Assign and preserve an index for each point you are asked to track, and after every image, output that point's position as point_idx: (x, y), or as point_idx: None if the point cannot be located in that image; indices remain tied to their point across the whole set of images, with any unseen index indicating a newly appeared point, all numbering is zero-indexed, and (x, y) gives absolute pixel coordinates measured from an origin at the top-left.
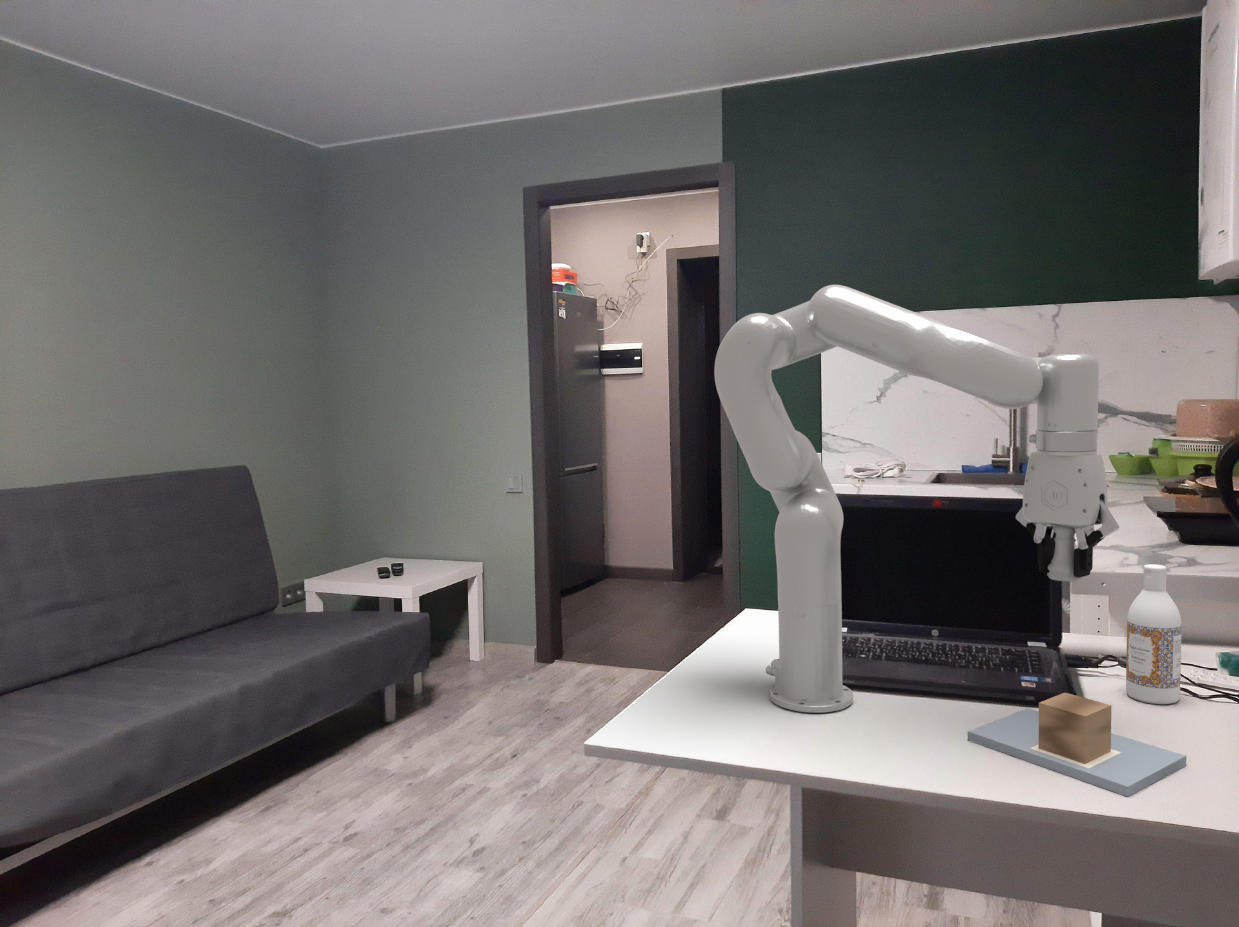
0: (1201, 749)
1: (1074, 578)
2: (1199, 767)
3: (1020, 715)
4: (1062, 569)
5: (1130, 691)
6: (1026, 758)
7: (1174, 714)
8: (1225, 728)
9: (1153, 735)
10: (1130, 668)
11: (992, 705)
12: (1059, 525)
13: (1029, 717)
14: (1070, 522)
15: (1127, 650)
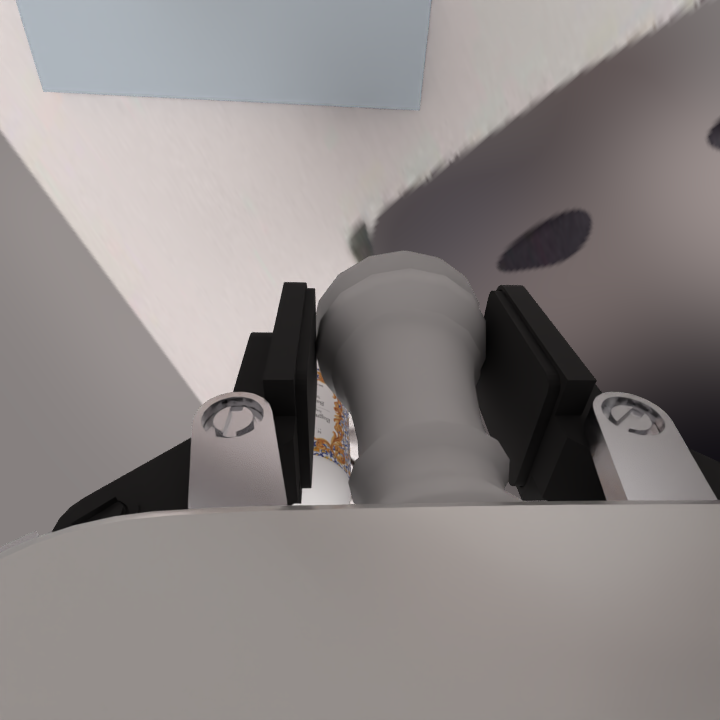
0: (105, 204)
1: (322, 297)
2: (36, 100)
3: (408, 35)
4: (374, 282)
5: None
6: None
7: (240, 335)
8: (155, 332)
9: (196, 207)
10: (327, 388)
11: (506, 111)
12: (442, 503)
13: (386, 41)
14: (255, 550)
15: (338, 417)
